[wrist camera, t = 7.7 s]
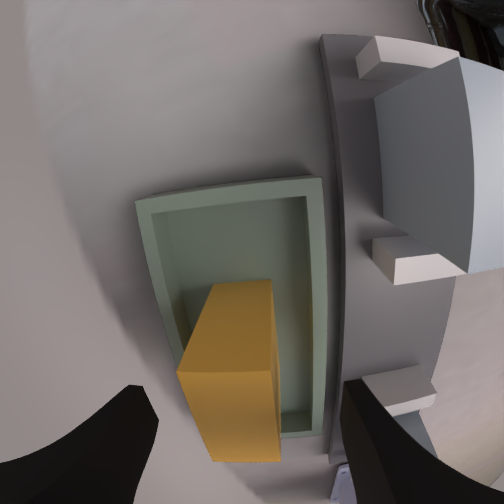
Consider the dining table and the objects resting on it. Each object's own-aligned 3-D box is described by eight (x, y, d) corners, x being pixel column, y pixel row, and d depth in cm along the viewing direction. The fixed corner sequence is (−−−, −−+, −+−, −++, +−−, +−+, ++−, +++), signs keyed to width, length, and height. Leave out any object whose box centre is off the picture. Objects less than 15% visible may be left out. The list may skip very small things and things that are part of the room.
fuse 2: (434, 215, 11) (527, 261, 5) (383, 218, 11) (467, 274, 5) (426, 101, 9) (524, 79, 4) (373, 97, 9) (458, 56, 4)
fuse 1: (391, 434, 15) (411, 501, 10) (356, 441, 16) (370, 512, 10) (406, 387, 14) (440, 465, 8) (366, 396, 14) (392, 481, 8)
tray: (318, 411, 16) (321, 434, 14) (209, 415, 17) (204, 438, 15) (313, 174, 12) (321, 177, 10) (153, 194, 12) (134, 200, 10)
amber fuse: (279, 365, 14) (280, 461, 9) (230, 368, 15) (212, 461, 9) (271, 279, 13) (270, 370, 7) (213, 283, 13) (175, 372, 7)
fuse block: (399, 439, 17) (410, 472, 14) (328, 454, 18) (332, 489, 14) (434, 54, 9) (472, 34, 6) (318, 42, 10) (333, 7, 6)
